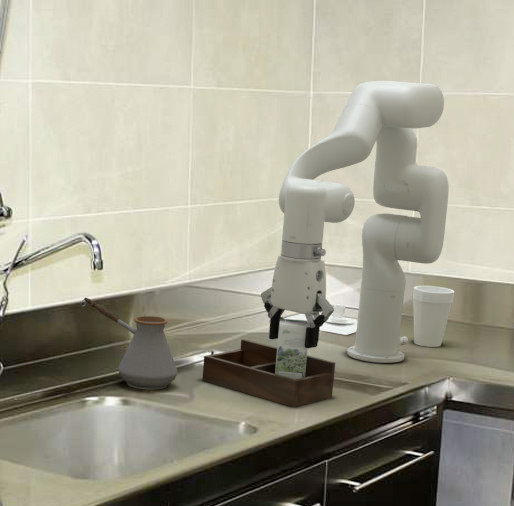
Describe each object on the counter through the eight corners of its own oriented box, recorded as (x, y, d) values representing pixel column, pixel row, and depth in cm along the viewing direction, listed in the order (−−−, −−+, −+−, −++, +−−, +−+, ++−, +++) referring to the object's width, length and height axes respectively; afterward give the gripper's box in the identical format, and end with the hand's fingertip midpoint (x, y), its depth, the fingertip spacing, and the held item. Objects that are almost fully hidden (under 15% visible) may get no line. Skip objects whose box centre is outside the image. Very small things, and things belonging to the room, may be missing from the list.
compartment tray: (241, 372, 250) (244, 338, 248) (332, 397, 235) (335, 362, 233) (202, 380, 241) (204, 346, 240) (293, 407, 226) (296, 370, 224)
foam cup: (453, 344, 290) (460, 290, 286) (439, 350, 282) (446, 295, 279) (416, 337, 294) (422, 284, 291) (401, 343, 287) (407, 288, 283)
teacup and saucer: (344, 327, 300) (345, 311, 299) (315, 322, 304) (316, 306, 303) (359, 322, 307) (360, 306, 306) (330, 317, 312) (332, 301, 310)
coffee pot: (187, 384, 238) (192, 308, 234) (158, 396, 228) (162, 317, 224) (94, 365, 247) (98, 293, 243) (63, 376, 238) (66, 300, 234)
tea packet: (303, 392, 237) (309, 319, 233) (303, 400, 231) (309, 325, 228) (273, 390, 238) (279, 317, 234) (273, 397, 232) (279, 323, 228)
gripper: (351, 256, 224) (341, 349, 229) (277, 243, 235) (270, 332, 240) (326, 259, 219) (317, 354, 223) (252, 245, 230) (245, 336, 235)
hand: (292, 342), depth 232 cm, fingers closed on tea packet, 8 cm apart
